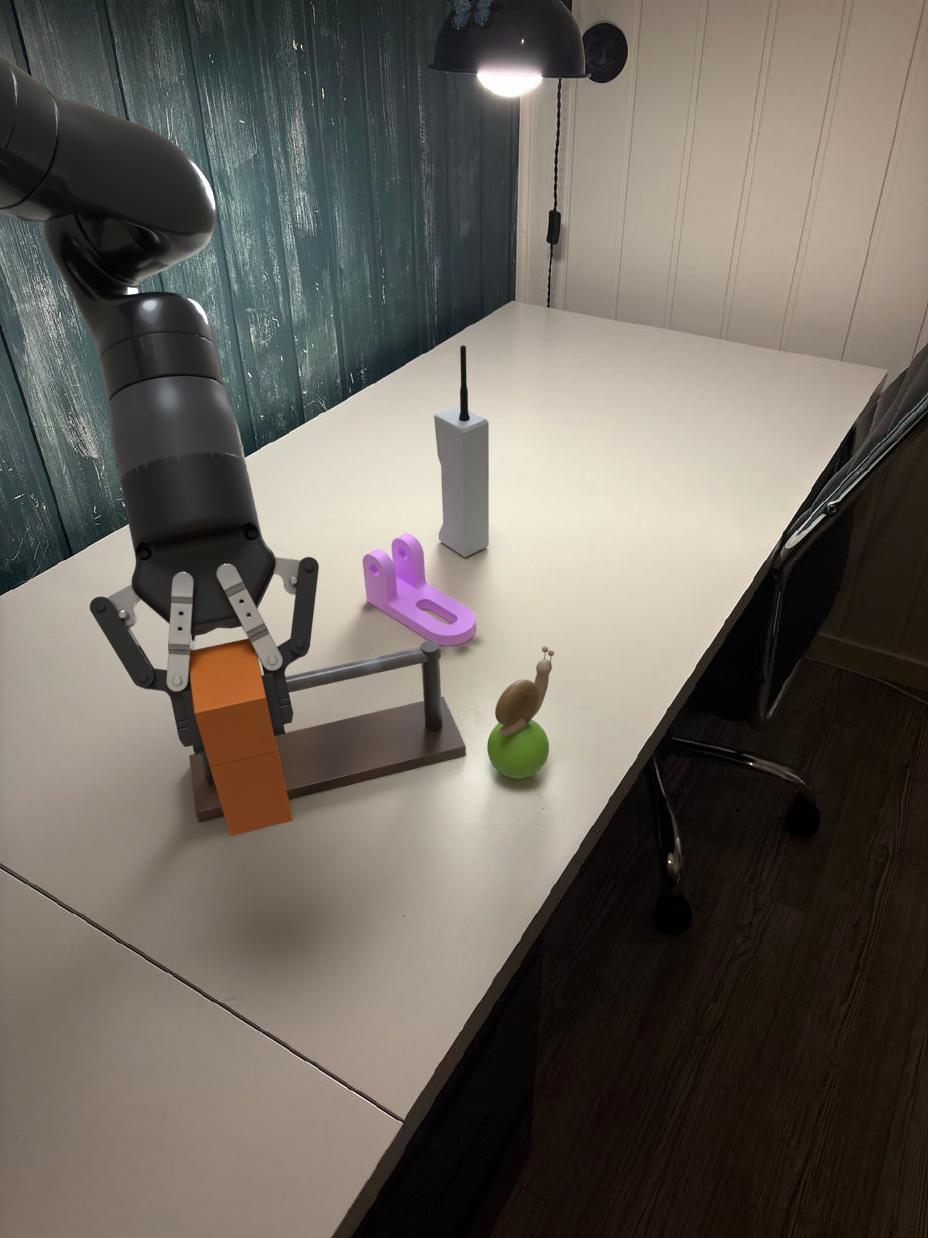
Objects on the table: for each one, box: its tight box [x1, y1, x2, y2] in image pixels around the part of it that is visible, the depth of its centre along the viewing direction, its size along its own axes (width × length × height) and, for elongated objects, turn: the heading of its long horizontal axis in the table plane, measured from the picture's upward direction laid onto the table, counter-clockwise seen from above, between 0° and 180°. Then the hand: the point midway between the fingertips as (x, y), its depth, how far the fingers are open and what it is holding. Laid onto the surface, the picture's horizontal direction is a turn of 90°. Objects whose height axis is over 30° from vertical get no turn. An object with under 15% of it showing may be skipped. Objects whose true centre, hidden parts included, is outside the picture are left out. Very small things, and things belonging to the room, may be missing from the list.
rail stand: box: [188, 640, 467, 822], centre depth 80 cm, size 24×7×11 cm, turn 108°
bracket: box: [362, 532, 476, 647], centre depth 98 cm, size 13×6×7 cm, turn 46°
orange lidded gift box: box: [189, 638, 294, 837], centre depth 57 cm, size 4×6×11 cm
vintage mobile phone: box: [433, 344, 490, 558], centre depth 103 cm, size 4×5×25 cm
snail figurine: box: [486, 645, 555, 780], centre depth 79 cm, size 5×6×12 cm
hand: (241, 742), depth 55 cm, fingers closed on orange lidded gift box, 4 cm apart
